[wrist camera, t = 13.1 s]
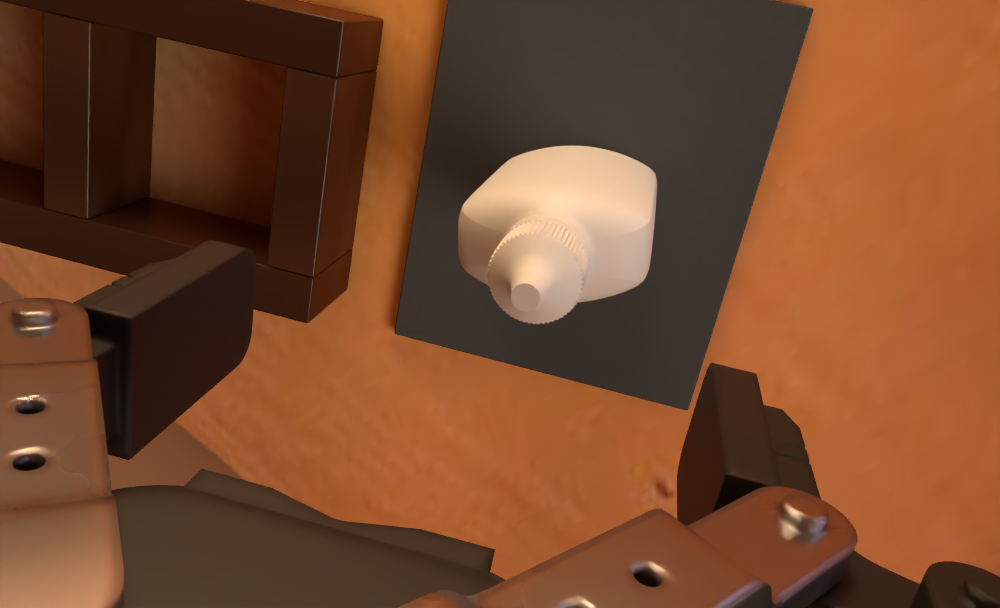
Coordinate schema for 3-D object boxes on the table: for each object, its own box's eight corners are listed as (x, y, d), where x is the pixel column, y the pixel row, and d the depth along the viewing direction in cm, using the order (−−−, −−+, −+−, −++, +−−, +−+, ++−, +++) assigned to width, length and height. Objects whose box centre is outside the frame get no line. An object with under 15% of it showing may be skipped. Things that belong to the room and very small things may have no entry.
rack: (-93, -86, 32) (-192, -98, 29) (384, 19, 30) (344, 21, 26) (-77, 180, 36) (-162, 199, 32) (347, 289, 34) (308, 324, 30)
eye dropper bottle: (610, 280, 31) (577, 430, 20) (483, 199, 31) (380, 306, 20) (678, 183, 30) (683, 288, 19) (544, 97, 30) (469, 152, 18)
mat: (460, -64, 29) (458, -65, 28) (812, 8, 27) (813, 8, 27) (397, 330, 34) (393, 333, 34) (687, 406, 33) (687, 411, 32)
